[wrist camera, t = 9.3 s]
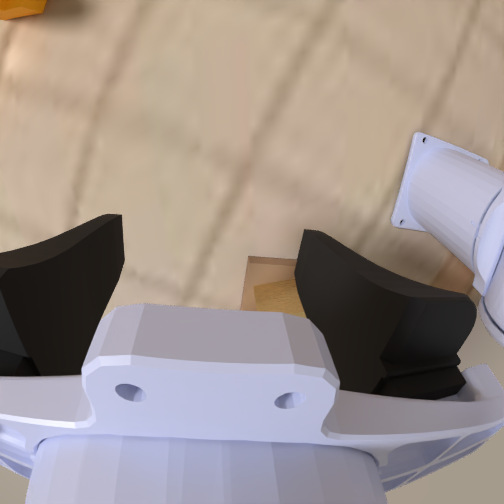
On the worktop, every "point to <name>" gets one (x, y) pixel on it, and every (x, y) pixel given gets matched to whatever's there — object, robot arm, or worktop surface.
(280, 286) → the collar
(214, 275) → the worktop surface
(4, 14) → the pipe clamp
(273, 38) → the worktop surface
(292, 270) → the shaft block
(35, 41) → the worktop surface
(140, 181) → the worktop surface
